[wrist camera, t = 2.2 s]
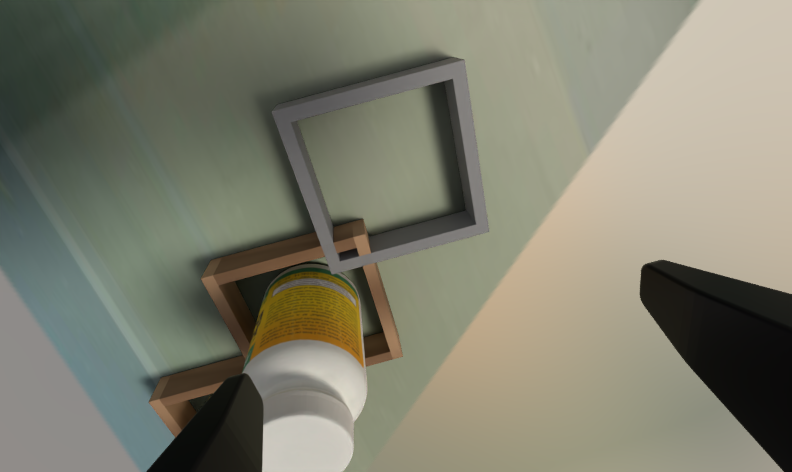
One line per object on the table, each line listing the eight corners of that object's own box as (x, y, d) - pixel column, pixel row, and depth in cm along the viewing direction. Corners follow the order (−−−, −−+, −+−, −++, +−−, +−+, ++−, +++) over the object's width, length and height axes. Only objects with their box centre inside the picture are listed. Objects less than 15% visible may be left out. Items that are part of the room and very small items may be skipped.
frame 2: (478, 217, 22) (489, 231, 21) (332, 257, 22) (331, 274, 21) (453, 57, 18) (464, 59, 17) (277, 104, 18) (271, 111, 17)
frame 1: (335, 429, 28) (335, 453, 27) (220, 461, 28) (213, 487, 26) (294, 341, 24) (291, 363, 23) (160, 377, 24) (148, 402, 23)
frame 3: (398, 335, 25) (402, 356, 24) (269, 371, 25) (265, 394, 24) (363, 218, 21) (365, 233, 20) (210, 260, 21) (200, 278, 20)
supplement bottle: (365, 330, 25) (380, 488, 16) (275, 344, 24) (242, 513, 16) (353, 253, 22) (363, 391, 14) (252, 267, 22) (199, 418, 13)
